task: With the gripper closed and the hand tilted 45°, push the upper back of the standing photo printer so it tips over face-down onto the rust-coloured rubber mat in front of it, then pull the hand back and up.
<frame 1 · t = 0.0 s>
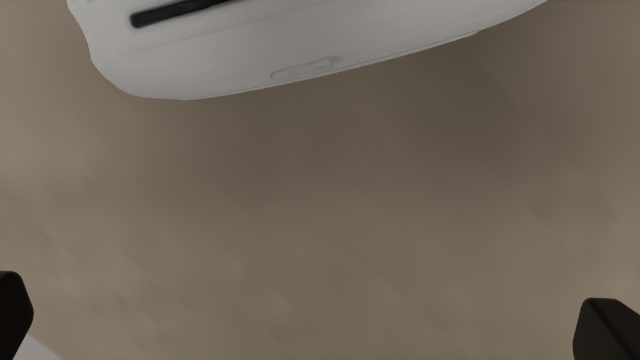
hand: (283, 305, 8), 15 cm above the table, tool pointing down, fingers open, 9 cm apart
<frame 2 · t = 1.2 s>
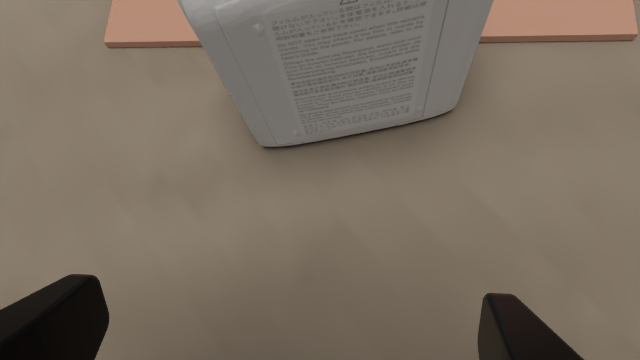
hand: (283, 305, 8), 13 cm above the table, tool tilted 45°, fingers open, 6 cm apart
photo printer: (351, 100, 24), on the table
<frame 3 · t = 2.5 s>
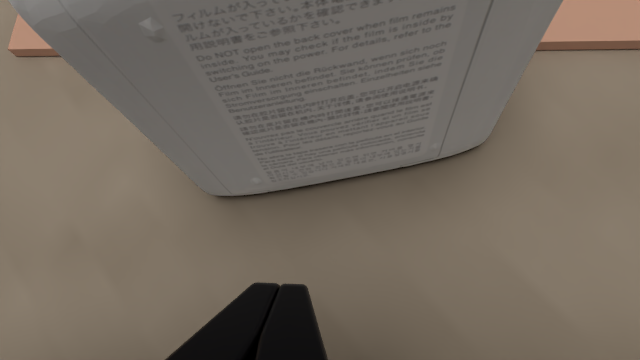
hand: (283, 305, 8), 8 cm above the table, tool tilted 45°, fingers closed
photo printer: (339, 130, 17), on the table
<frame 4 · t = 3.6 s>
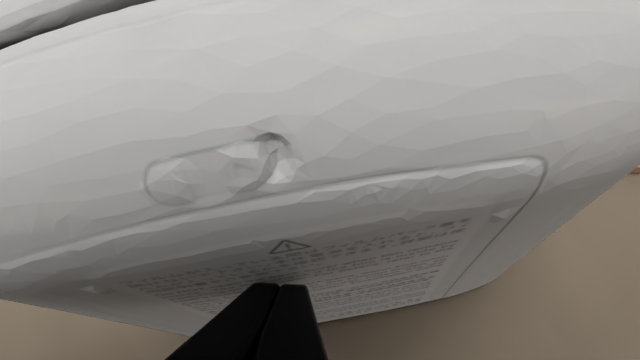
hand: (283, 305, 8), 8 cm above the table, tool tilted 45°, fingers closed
photo printer: (333, 256, 16), on the table, touching gripper
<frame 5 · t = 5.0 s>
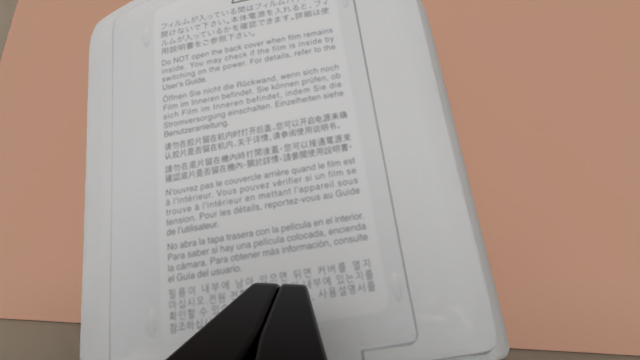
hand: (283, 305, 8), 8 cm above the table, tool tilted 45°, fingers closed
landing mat: (342, 48, 18), on the table
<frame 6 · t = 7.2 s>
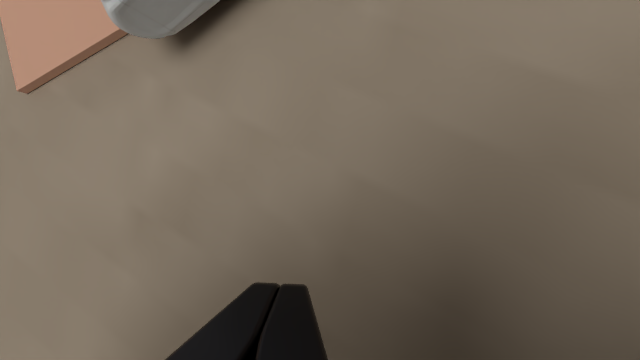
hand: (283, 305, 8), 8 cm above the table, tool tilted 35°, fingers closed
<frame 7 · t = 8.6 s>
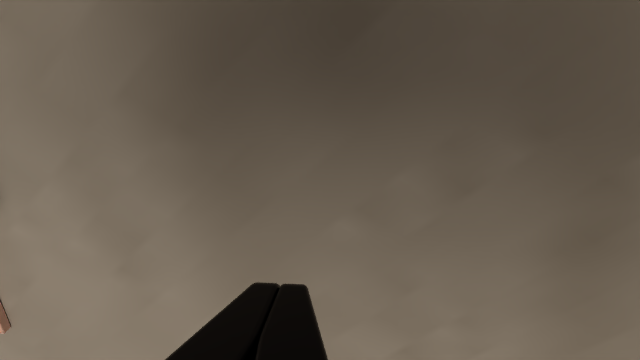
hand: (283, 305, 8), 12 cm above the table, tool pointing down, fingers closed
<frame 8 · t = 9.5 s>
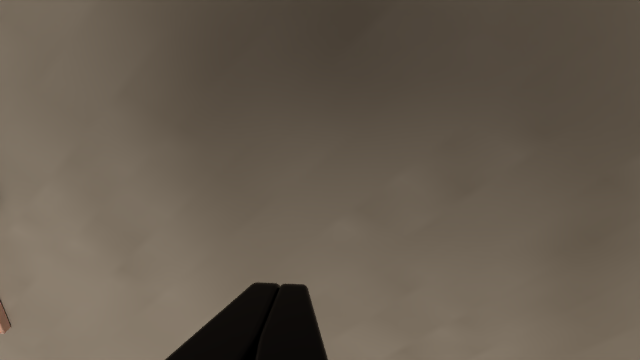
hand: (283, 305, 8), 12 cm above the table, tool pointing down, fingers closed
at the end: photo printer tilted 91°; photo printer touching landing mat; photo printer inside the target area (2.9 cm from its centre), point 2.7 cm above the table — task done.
